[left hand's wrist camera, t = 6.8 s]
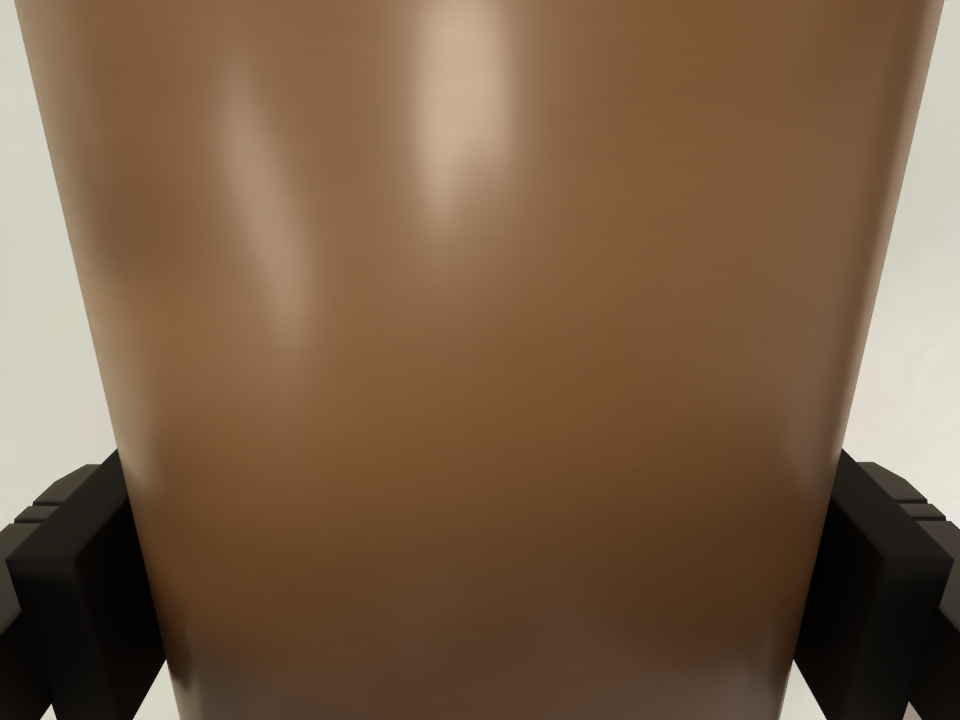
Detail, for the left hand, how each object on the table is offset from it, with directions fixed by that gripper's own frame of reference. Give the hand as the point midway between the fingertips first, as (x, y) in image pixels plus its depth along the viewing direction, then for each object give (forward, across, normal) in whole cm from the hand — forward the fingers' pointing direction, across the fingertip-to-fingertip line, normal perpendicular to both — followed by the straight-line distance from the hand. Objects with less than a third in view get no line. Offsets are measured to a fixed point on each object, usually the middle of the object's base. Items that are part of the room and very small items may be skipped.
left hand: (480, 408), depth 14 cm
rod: (0, 0, -9) cm, 9 cm away
